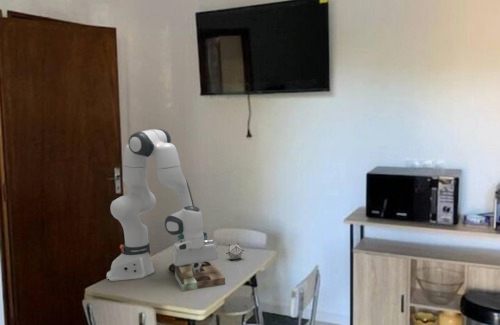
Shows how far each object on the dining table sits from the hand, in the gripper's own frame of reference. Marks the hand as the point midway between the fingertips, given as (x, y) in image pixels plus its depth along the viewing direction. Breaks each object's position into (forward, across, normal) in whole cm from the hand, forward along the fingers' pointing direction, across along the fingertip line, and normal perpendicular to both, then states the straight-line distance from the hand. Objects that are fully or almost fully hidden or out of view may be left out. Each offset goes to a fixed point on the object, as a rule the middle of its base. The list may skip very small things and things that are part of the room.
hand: (196, 272), depth 228 cm
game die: (+4, -25, -22) cm, 34 cm away
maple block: (+1, +5, 0) cm, 5 cm away
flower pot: (+4, -7, -41) cm, 41 cm away
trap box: (+4, -1, 0) cm, 4 cm away
